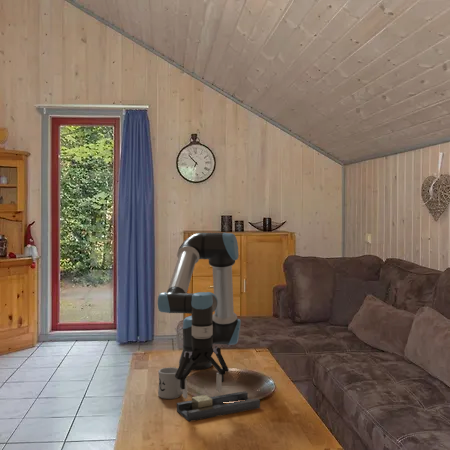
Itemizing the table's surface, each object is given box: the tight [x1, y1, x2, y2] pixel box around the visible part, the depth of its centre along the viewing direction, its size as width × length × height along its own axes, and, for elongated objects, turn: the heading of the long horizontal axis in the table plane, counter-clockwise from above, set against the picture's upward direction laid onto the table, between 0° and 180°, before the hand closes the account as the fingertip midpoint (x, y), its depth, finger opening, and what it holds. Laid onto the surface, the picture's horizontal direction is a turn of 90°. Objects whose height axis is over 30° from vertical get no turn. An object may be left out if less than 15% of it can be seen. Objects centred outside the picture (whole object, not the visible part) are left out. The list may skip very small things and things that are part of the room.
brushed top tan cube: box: [191, 394, 212, 410], centre depth 203 cm, size 6×6×6 cm
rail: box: [176, 390, 261, 422], centre depth 207 cm, size 11×28×3 cm, turn 118°
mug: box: [157, 366, 182, 400], centre depth 220 cm, size 12×9×10 cm
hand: (202, 394), depth 204 cm, fingers open, 13 cm apart
